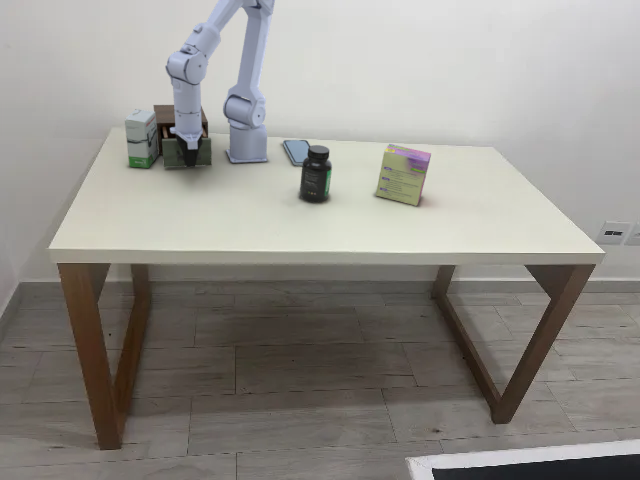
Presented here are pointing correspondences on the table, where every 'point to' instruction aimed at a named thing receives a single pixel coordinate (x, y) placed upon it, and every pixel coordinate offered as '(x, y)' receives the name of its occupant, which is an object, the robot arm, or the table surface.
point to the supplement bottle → (316, 174)
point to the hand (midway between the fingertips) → (190, 165)
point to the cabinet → (170, 121)
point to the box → (403, 174)
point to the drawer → (174, 152)
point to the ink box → (141, 138)
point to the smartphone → (297, 150)
